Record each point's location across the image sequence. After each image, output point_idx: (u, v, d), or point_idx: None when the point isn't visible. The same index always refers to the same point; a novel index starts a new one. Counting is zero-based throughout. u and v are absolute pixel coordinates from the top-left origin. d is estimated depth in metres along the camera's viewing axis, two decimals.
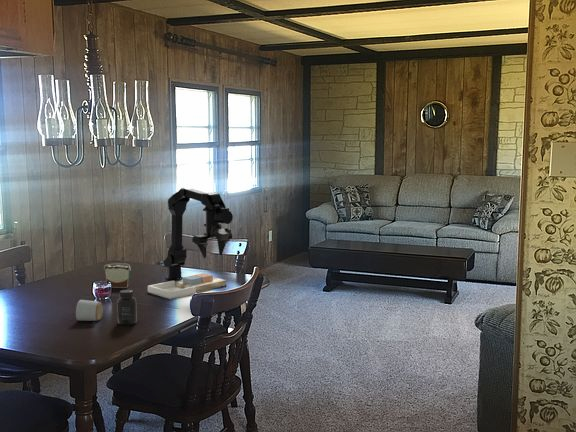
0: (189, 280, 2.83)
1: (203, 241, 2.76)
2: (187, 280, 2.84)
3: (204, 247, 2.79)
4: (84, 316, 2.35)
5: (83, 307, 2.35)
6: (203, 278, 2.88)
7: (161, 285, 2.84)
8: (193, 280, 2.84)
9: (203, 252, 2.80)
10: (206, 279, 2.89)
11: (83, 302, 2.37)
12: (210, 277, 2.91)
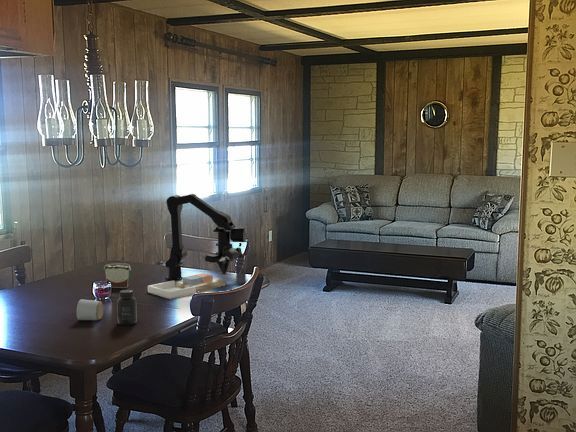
0: (189, 280, 2.83)
1: (215, 260, 2.92)
2: (187, 280, 2.84)
3: (223, 264, 2.98)
4: (85, 316, 2.36)
5: (84, 307, 2.36)
6: (203, 278, 2.88)
7: (161, 285, 2.84)
8: (193, 280, 2.84)
9: (222, 269, 2.99)
10: (206, 279, 2.89)
11: (84, 302, 2.37)
12: (210, 277, 2.91)
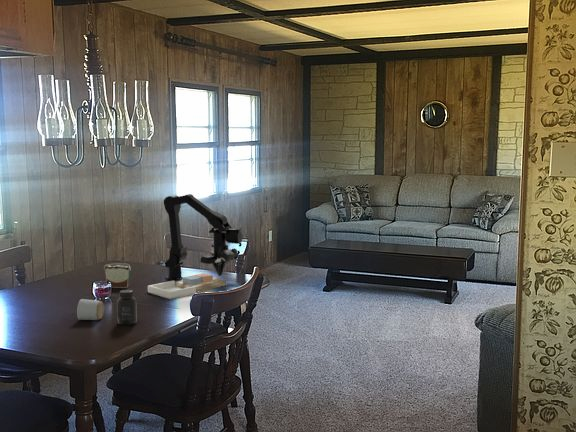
0: (189, 280, 2.83)
1: (211, 261, 2.90)
2: (187, 280, 2.84)
3: (219, 265, 2.96)
4: (85, 316, 2.36)
5: (84, 306, 2.36)
6: (203, 278, 2.88)
7: (161, 285, 2.84)
8: (193, 280, 2.84)
9: (218, 270, 2.97)
10: (206, 279, 2.89)
11: (84, 301, 2.38)
12: (210, 277, 2.91)
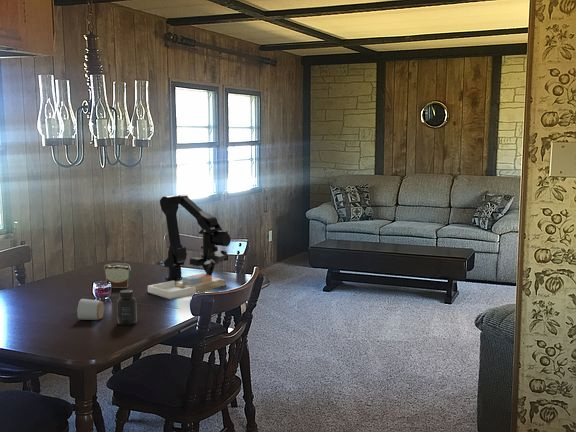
0: (189, 280, 2.83)
1: (200, 263, 2.86)
2: (187, 280, 2.84)
3: (209, 267, 2.92)
4: (86, 315, 2.37)
5: (84, 306, 2.37)
6: (202, 278, 2.87)
7: (161, 285, 2.84)
8: (193, 280, 2.84)
9: (208, 272, 2.93)
10: (205, 279, 2.89)
11: (84, 301, 2.38)
12: (209, 277, 2.90)
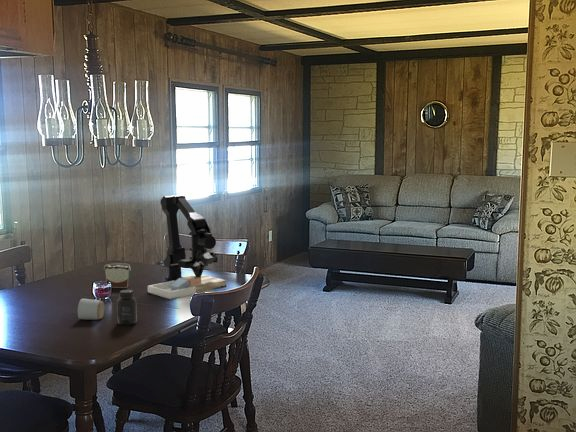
0: (177, 287, 2.79)
1: (189, 265, 2.81)
2: (175, 287, 2.80)
3: (197, 269, 2.87)
4: (86, 315, 2.37)
5: (85, 306, 2.37)
6: (191, 281, 2.83)
7: (161, 285, 2.84)
8: (181, 286, 2.79)
9: (196, 274, 2.88)
10: (194, 281, 2.84)
11: (85, 301, 2.38)
12: (198, 280, 2.86)
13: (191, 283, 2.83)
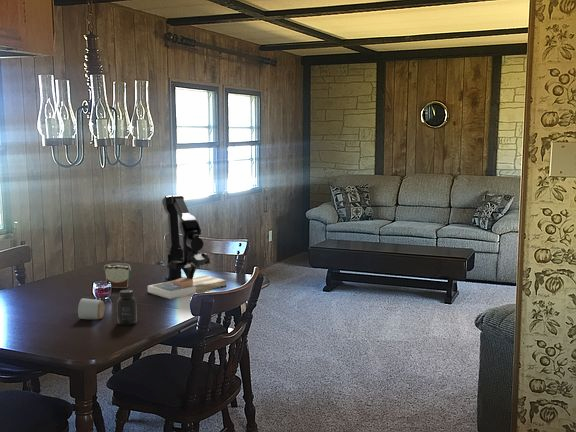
0: (168, 289, 2.76)
1: (180, 267, 2.77)
2: (166, 289, 2.77)
3: (189, 271, 2.83)
4: (86, 315, 2.37)
5: (85, 305, 2.37)
6: (183, 283, 2.79)
7: (161, 285, 2.84)
8: (172, 289, 2.76)
9: (188, 276, 2.85)
10: (186, 284, 2.81)
11: (85, 301, 2.39)
12: (190, 281, 2.82)
13: (183, 286, 2.79)
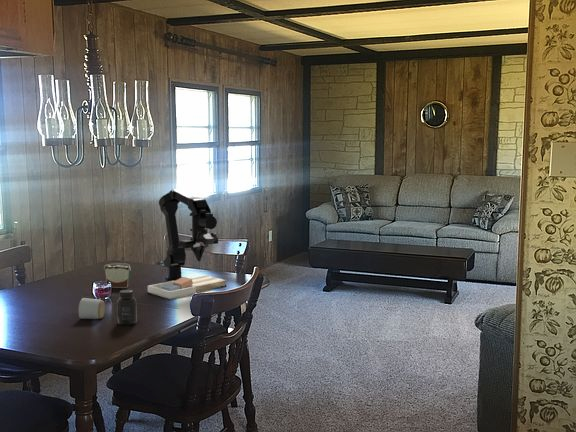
0: (168, 289, 2.76)
1: (189, 246, 2.80)
2: (166, 289, 2.77)
3: (198, 250, 2.86)
4: (87, 314, 2.38)
5: (86, 305, 2.38)
6: (182, 285, 2.79)
7: (161, 285, 2.84)
8: (172, 289, 2.76)
9: (197, 255, 2.87)
10: (186, 284, 2.80)
11: (86, 300, 2.39)
12: (189, 281, 2.82)
13: (182, 287, 2.79)
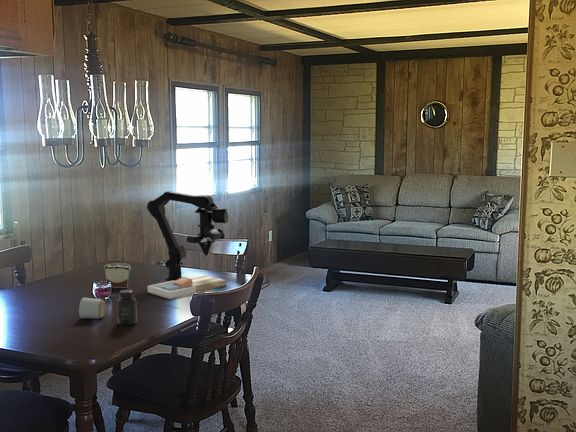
0: (168, 289, 2.76)
1: (197, 241, 2.92)
2: (166, 289, 2.77)
3: (205, 245, 2.98)
4: (87, 314, 2.38)
5: (86, 305, 2.38)
6: (182, 285, 2.79)
7: (161, 285, 2.84)
8: (172, 289, 2.76)
9: (204, 250, 2.99)
10: (186, 284, 2.80)
11: (86, 300, 2.40)
12: (189, 281, 2.82)
13: (182, 287, 2.79)
